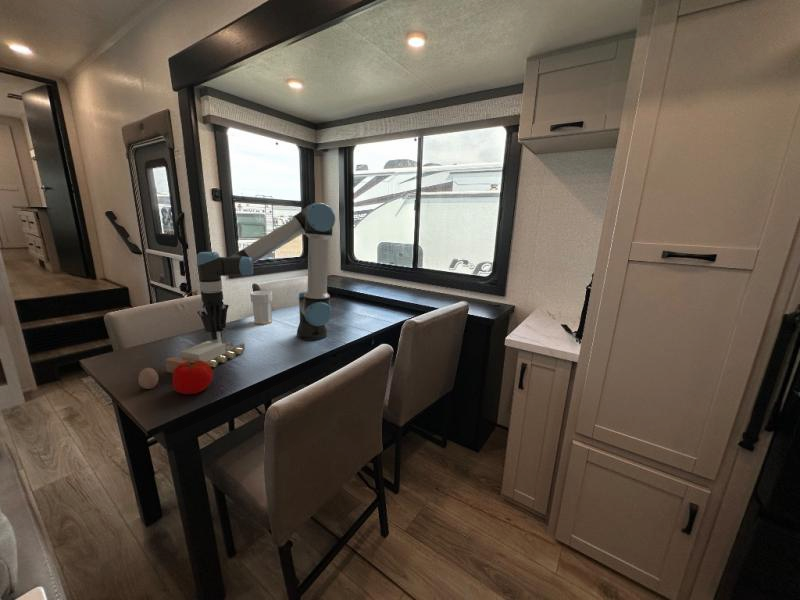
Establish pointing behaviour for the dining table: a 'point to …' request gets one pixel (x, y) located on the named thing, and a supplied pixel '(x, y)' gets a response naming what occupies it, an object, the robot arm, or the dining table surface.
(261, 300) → the cup
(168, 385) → the dining table surface
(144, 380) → the egg
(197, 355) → the paver
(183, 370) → the tomato
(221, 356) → the rack with metal cylinders
